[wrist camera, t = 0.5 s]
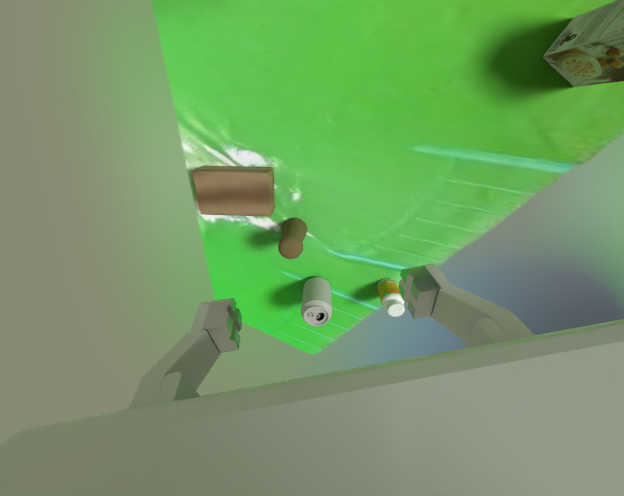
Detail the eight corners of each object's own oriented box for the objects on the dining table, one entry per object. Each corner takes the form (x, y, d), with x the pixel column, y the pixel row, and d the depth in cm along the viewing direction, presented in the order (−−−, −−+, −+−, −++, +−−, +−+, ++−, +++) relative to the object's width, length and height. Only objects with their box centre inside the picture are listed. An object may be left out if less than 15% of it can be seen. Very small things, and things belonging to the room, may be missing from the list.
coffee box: (608, 49, 42) (751, 16, 28) (573, 88, 45) (687, 75, 31) (573, 15, 41) (708, -39, 26) (539, 57, 43) (645, 29, 29)
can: (323, 300, 71) (324, 332, 60) (299, 291, 69) (295, 322, 59) (335, 280, 67) (338, 311, 57) (310, 271, 66) (308, 300, 55)
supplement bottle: (382, 275, 66) (391, 298, 57) (400, 281, 67) (412, 305, 58) (373, 290, 68) (380, 315, 60) (390, 296, 69) (400, 321, 60)
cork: (281, 238, 62) (273, 260, 52) (284, 215, 59) (276, 235, 49) (304, 242, 62) (301, 265, 52) (309, 220, 59) (306, 240, 49)
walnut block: (204, 165, 54) (192, 171, 49) (273, 167, 54) (268, 173, 48) (211, 205, 58) (200, 214, 53) (275, 207, 58) (270, 216, 53)
